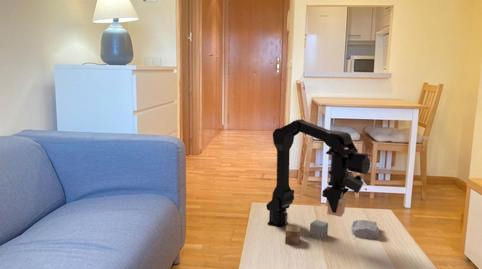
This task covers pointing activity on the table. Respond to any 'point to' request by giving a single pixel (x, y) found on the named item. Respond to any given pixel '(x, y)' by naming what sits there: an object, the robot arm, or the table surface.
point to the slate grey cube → (319, 229)
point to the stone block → (365, 229)
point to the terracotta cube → (339, 210)
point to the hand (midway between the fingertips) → (335, 210)
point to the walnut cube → (292, 235)
